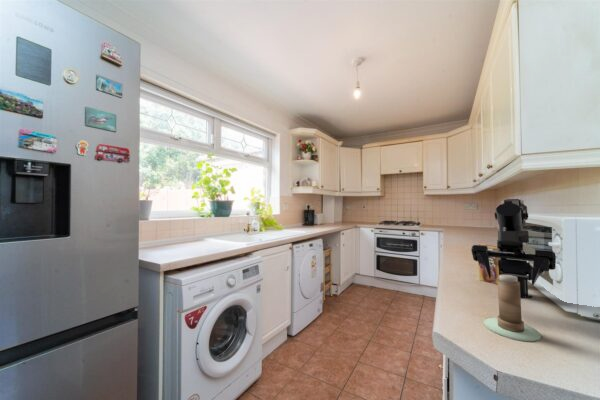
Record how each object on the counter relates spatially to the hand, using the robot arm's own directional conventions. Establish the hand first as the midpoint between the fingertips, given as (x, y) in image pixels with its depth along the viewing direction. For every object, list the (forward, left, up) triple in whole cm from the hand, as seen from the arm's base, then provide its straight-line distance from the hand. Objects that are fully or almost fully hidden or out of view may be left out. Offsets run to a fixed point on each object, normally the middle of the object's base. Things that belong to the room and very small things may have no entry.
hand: (510, 280), depth 68 cm
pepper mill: (+5, +5, -10) cm, 13 cm away
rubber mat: (+5, +6, -11) cm, 13 cm away
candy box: (-20, -32, -11) cm, 40 cm away
